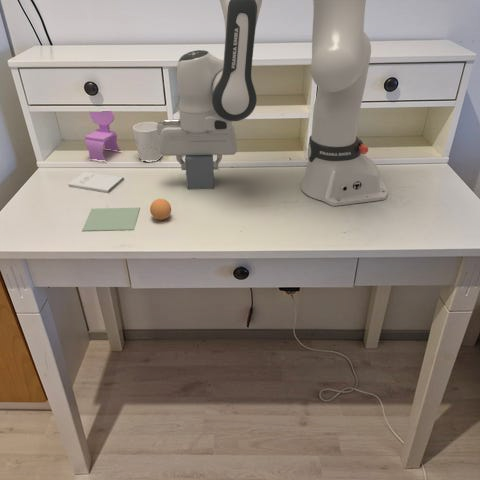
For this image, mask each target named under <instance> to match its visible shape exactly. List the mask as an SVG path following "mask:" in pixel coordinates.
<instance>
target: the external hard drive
mask: <svg viewBox="0 0 480 480" xmlns="http://www.w3.org/2000/svg"><path fill="white" fill-rule="evenodd" d="M124 181H125V177H124V176H117V175H111V174H104V173H98V172H90V171H83V172H82V173H80V175H78V176H76V177H75V178H74V179H72V180H71V181H70V182H68V184H67V185H68V187H69V188H75V189H79V190H80V189H81V190H86V191H92V192H98V193H105V194H110V193H111V192H112V191H113V190H115V188H116V187H118V186H119V185H120V184H121V183H123V182H124Z"/></svg>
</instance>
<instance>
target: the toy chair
mask: <svg viewBox="0 0 480 480" xmlns="http://www.w3.org/2000/svg"><path fill="white" fill-rule="evenodd" d="M89 116H90V119H91V120H92V122H93V123H94V124H96V125H98V127H99V128H97V129H95V130H94V131H93V132H90V133H89V134H87V135H85V137H84V138H85V145H86V147H87V149H88V150H87V151H88V153H89V159H97V160H105V161H106V160H107V159H106V158H105V155H104V154H103V153H104V152H103V150H104V148H105V149H111V150H117V151H122V150H121V149H120V147H119V146H118V142H117V141H118V139H117V138H118V135H117V132H116V131H115V130H114V131H113V130H110V129H111V128H110V125H111V124H112V123H113V122H114V120H115V114H114V112H113V111H112V110H111V111H102V112H90V111H89Z"/></svg>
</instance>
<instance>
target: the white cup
mask: <svg viewBox="0 0 480 480" xmlns="http://www.w3.org/2000/svg"><path fill="white" fill-rule="evenodd" d="M158 123H159V122H155V121H144V122H139V123H136V124H134V125H133V126H132V130H133V136H134V142H135V145H136V146H135V147H136V150H137V154H138V158H140V159H141V160H149V161H150V160H157V159H160V158H161V157H162V156H163V155H162V154H161V152H160V136H159V135H158V132H157V125H158ZM162 158H163V157H162ZM162 158H161V159H162ZM140 159H139V160H140ZM161 159H160V160H161ZM141 160H140V161H141Z"/></svg>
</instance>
